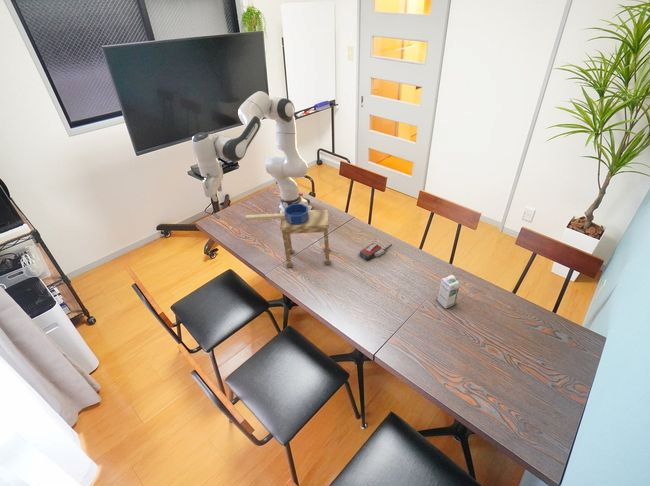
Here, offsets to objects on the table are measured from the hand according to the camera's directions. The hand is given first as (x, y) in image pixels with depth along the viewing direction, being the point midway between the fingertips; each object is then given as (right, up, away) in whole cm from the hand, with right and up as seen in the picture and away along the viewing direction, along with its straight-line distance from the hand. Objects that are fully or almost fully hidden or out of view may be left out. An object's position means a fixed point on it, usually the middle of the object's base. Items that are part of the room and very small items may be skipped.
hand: (217, 195), depth 158 cm
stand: (+41, -31, +19) cm, 55 cm away
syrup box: (+108, -50, -6) cm, 120 cm away
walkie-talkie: (+78, -28, +23) cm, 86 cm away
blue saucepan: (+28, -11, +3) cm, 31 cm away
